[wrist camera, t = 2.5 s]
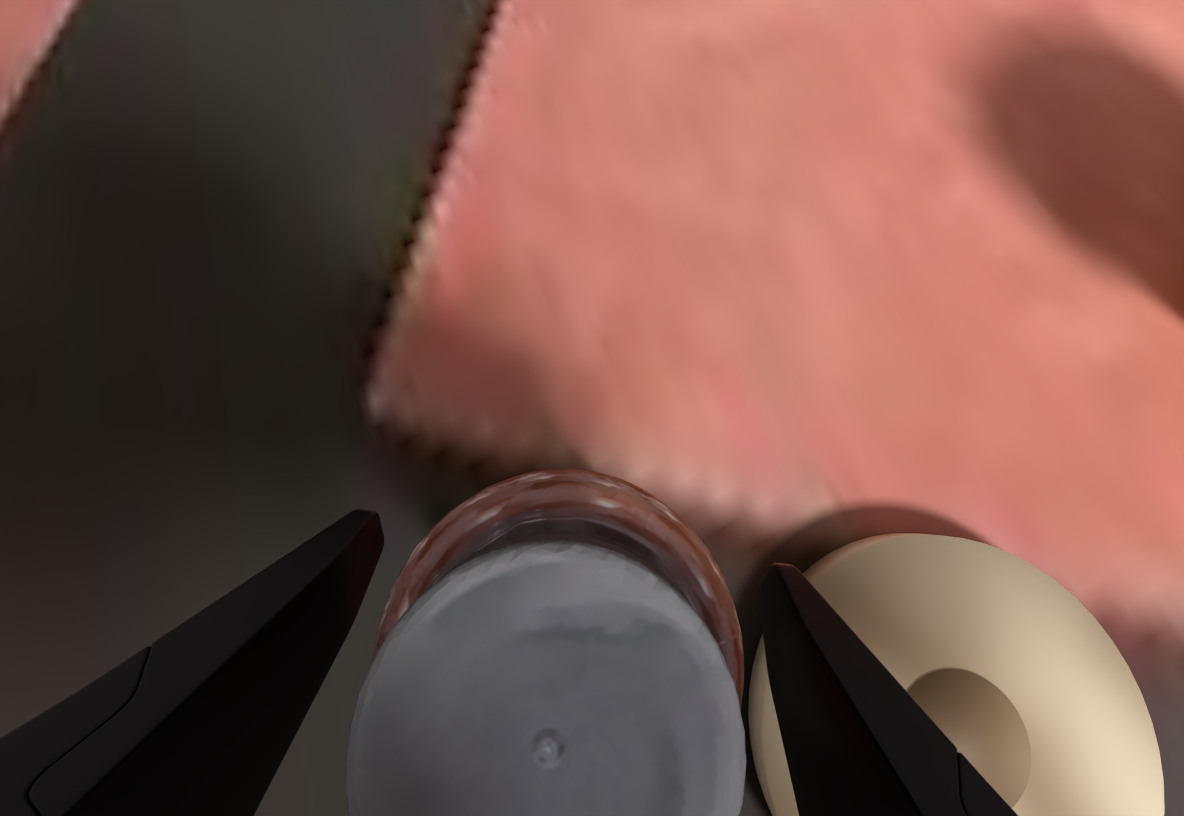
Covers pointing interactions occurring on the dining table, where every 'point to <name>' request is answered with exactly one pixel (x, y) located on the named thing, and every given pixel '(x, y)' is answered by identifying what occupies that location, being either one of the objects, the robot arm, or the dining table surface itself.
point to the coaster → (987, 675)
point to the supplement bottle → (554, 663)
